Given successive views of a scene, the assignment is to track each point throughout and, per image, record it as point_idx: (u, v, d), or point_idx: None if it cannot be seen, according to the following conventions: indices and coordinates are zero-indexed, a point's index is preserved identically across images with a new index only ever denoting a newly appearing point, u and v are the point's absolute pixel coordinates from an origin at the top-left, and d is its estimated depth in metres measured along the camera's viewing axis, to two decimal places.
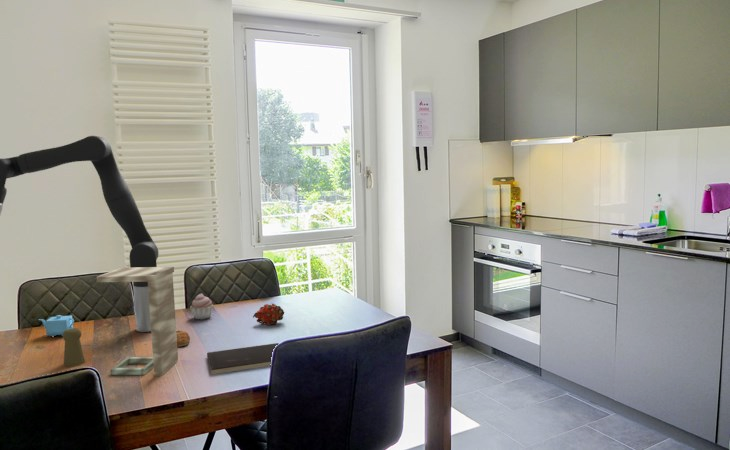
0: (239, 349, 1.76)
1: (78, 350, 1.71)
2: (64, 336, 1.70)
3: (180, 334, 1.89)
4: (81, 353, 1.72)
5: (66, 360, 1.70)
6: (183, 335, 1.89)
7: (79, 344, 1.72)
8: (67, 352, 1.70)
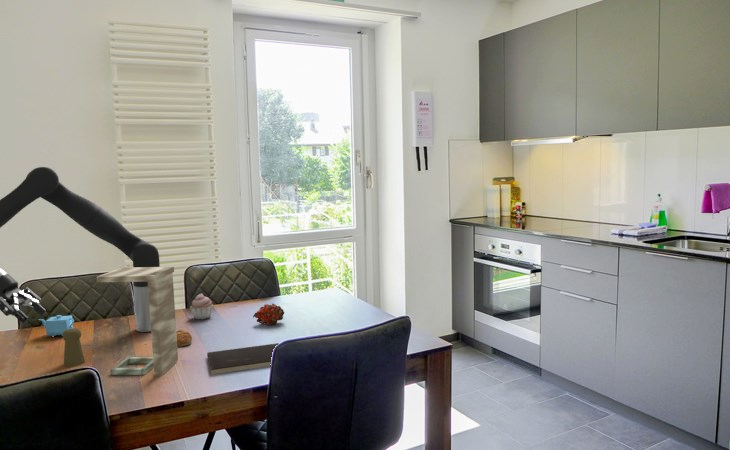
0: (239, 349, 1.76)
1: (78, 350, 1.71)
2: (64, 336, 1.70)
3: (182, 334, 1.90)
4: (81, 353, 1.72)
5: (66, 360, 1.70)
6: (185, 334, 1.89)
7: (79, 344, 1.72)
8: (67, 352, 1.70)
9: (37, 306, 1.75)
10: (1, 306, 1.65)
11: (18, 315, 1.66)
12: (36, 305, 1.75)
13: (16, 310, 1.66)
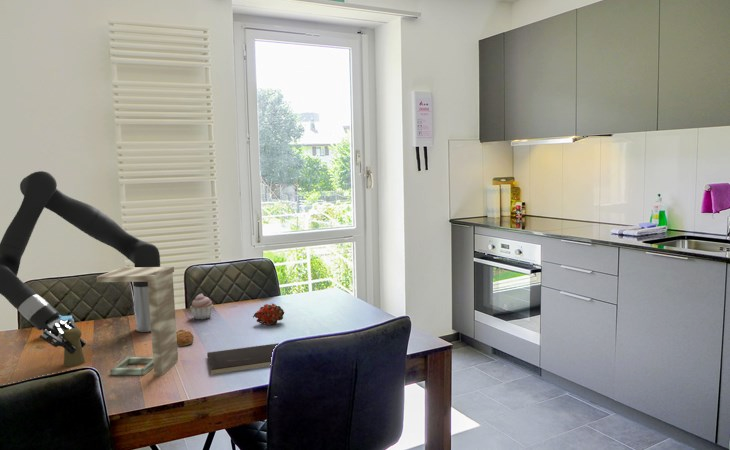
0: (239, 349, 1.76)
1: (78, 350, 1.71)
2: (64, 336, 1.70)
3: (184, 333, 1.90)
4: (81, 353, 1.72)
5: (66, 360, 1.70)
6: (187, 334, 1.90)
7: (79, 344, 1.72)
8: (67, 351, 1.70)
9: None
10: (49, 339, 1.66)
11: (66, 346, 1.69)
12: None
13: (65, 341, 1.69)
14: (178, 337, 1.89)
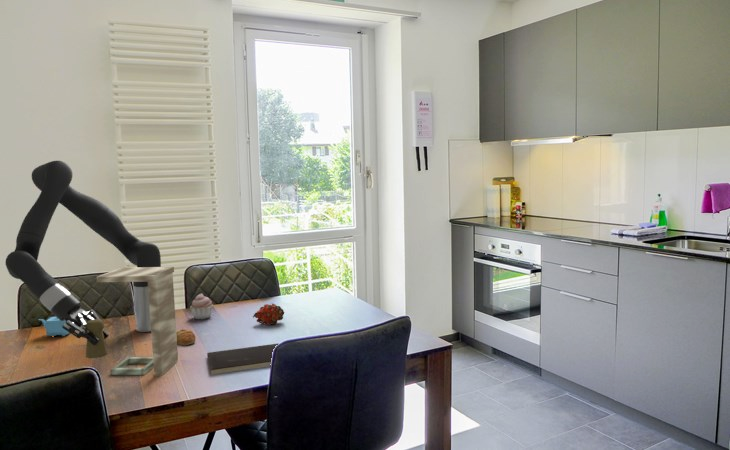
0: (240, 349, 1.76)
1: (101, 342, 1.65)
2: (87, 327, 1.64)
3: (186, 333, 1.91)
4: (104, 345, 1.67)
5: (89, 352, 1.64)
6: (189, 333, 1.91)
7: (102, 335, 1.66)
8: (90, 343, 1.64)
9: None
10: (72, 330, 1.60)
11: (89, 337, 1.63)
12: None
13: (88, 332, 1.63)
14: (180, 336, 1.89)
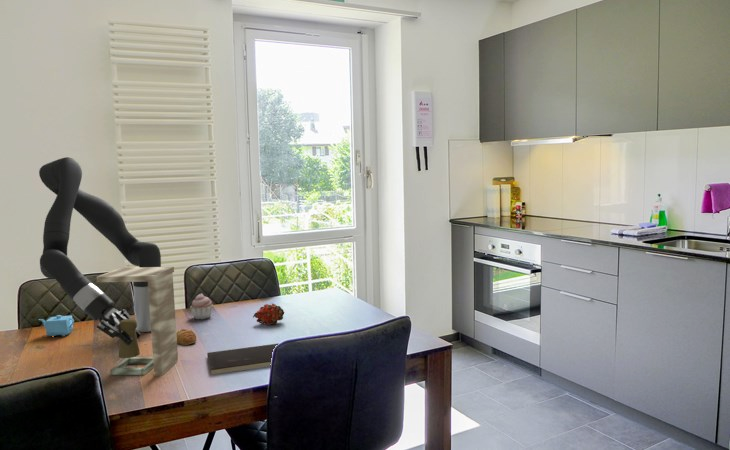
0: (240, 349, 1.76)
1: (134, 341, 1.65)
2: (120, 326, 1.63)
3: (186, 332, 1.91)
4: (137, 345, 1.66)
5: (122, 351, 1.63)
6: (190, 333, 1.91)
7: (135, 335, 1.66)
8: (123, 342, 1.63)
9: None
10: (106, 329, 1.60)
11: (123, 337, 1.62)
12: None
13: (122, 332, 1.62)
14: (181, 336, 1.89)
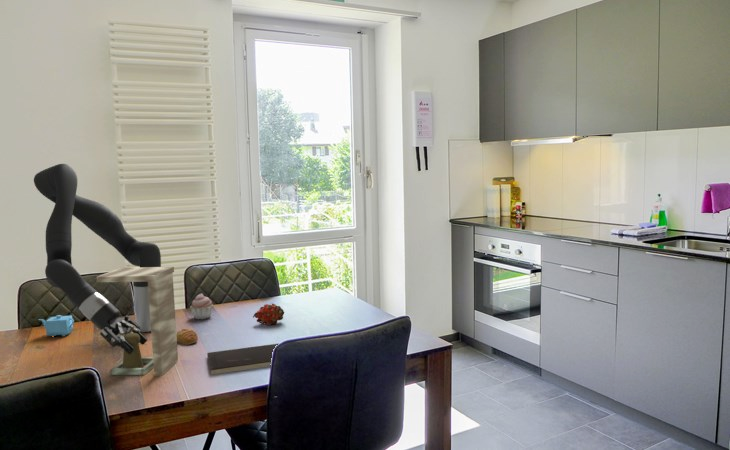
0: (240, 349, 1.76)
1: (137, 356, 1.65)
2: None
3: (188, 332, 1.92)
4: (140, 359, 1.66)
5: (126, 366, 1.63)
6: (191, 333, 1.91)
7: (138, 349, 1.65)
8: (127, 357, 1.63)
9: None
10: (108, 337, 1.59)
11: (125, 346, 1.61)
12: None
13: (122, 341, 1.61)
14: (182, 336, 1.90)
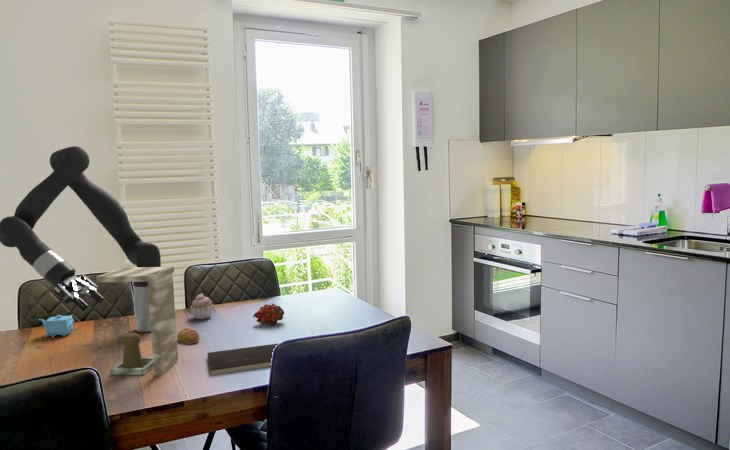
0: (240, 349, 1.76)
1: (137, 356, 1.65)
2: (124, 341, 1.63)
3: (189, 331, 1.92)
4: (140, 359, 1.66)
5: (126, 366, 1.63)
6: (193, 332, 1.92)
7: (138, 349, 1.65)
8: (127, 357, 1.63)
9: (95, 293, 1.69)
10: (61, 294, 1.58)
11: (78, 303, 1.60)
12: (94, 293, 1.69)
13: (76, 298, 1.60)
14: (184, 335, 1.90)
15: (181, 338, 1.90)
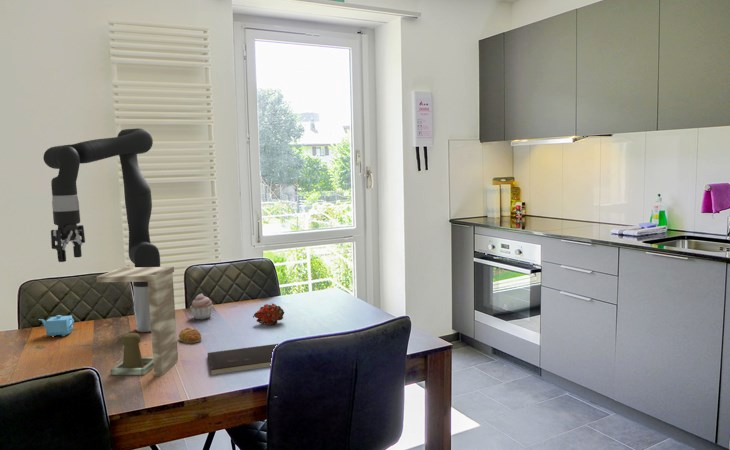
0: (240, 350, 1.76)
1: (137, 356, 1.65)
2: (124, 341, 1.63)
3: (191, 331, 1.93)
4: (140, 359, 1.66)
5: (126, 366, 1.63)
6: (194, 332, 1.92)
7: (138, 349, 1.65)
8: (127, 357, 1.63)
9: (78, 248, 1.80)
10: (54, 239, 1.68)
11: (60, 254, 1.71)
12: (77, 247, 1.80)
13: (62, 249, 1.71)
14: (186, 335, 1.91)
15: (183, 338, 1.91)
